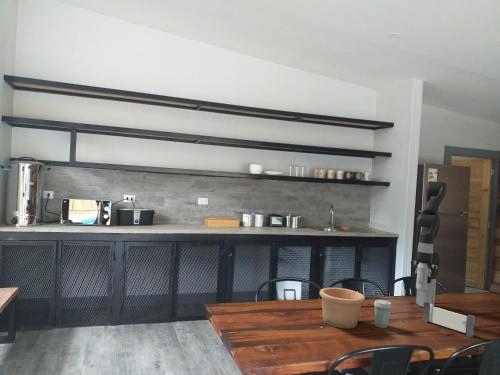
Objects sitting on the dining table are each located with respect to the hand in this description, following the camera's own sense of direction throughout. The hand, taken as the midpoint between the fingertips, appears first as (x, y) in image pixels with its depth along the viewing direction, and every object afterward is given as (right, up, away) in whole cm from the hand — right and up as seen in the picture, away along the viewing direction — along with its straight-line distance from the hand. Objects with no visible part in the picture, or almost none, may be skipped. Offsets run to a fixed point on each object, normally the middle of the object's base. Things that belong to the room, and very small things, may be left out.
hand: (422, 281), depth 206 cm
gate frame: (+5, -20, -14) cm, 25 cm away
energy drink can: (0, -5, 0) cm, 5 cm away
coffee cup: (-29, -18, -18) cm, 38 cm away
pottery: (-49, -16, -17) cm, 54 cm away
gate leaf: (+6, -19, -14) cm, 25 cm away
